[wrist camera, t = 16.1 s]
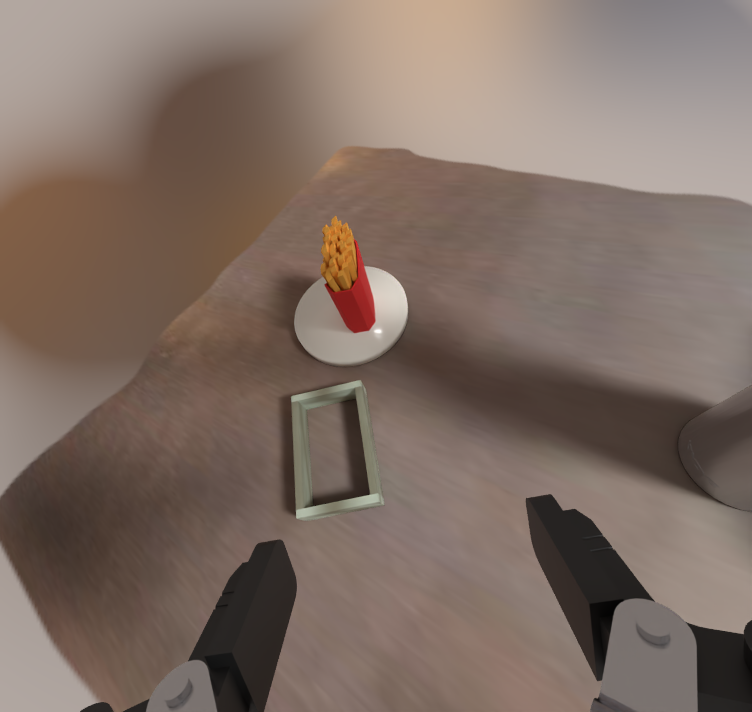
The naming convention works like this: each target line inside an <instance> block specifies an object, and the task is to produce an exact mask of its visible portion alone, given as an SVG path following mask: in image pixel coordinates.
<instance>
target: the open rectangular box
mask: <svg viewBox="0 0 752 712" xmlns="http://www.w3.org/2000/svg"><path fill="white" fill-rule="evenodd" d="M355 398H356V399H357V406H358V413H359V420H360V427H361V434H362V441H363V448H364V455H365V462H366V469H367V476H368V483H369V490H370V495H367V496H362V497H357V498H352V499H347V500H342V501H338V502H333V503H328V504H323V505H318V506H313V496H312V480H311V465H310V450H309V434H308V419H307V410H308V409H312V408H316V407H321V406H325V405H329V404H334V403H338V402H342V401H347V400H351V399H355ZM291 404H292V427H293V451H294V475H295V498H296V519H301V520H305V521H310V520H315V519H319V518H324V517H329V516H334V515H339V514H344V513H349V512H354V511H359V510H364V509H369V508H374V507H379V506H384V499H383V493H382V487H381V480H380V474H379V468H378V462H377V456H376V449H375V443H374V437H373V431H372V424H371V418H370V412H369V406H368V400H367V393H366V389H365V387H364V386H363V384H362V382H361V380H358V381H354V382H350V383H345V384H341V385H337V386H333V387H328V388H324V389H320V390H316V391H311V392H307V393H303V394H299V395H294V396H291Z"/></svg>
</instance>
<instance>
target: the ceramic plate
mask: <svg viewBox="0 0 752 712" xmlns="http://www.w3.org/2000/svg"><path fill="white" fill-rule="evenodd" d="M364 267H365V271H366V274H367V277H368V281H369V284H370V287H371V291H372V294H373V299H374V306H375V319H376V322H375V323H374V325H373V326H372V327H371V329H370V330H369V331H364V332H359V333H353V332H352V331H351V330H350V329H349V328H347V326H346V325H345V323H344V321H343V319H342V317H341V315H340V313H339V311H338V310H337V308H336V306H335V304H334V302H333V300H332V298H331V296H330V295H329V293H328V291H327V289H326V287H325V285H324V284H326V283H327V282H326V280H325V279H324V277H322V278H321V279H319V280H318V281H316V282H315V283H314V284H313V285H312V286H311V287H310V288H309V289H308V290H307V291H306V292H305V294H304V295H303V297H302V298H301V300H300V302H299V304H298V306H297V309H296V312H295V318H294V326H295V332H296V335H297V337H298V339H299V341H300V343H301V344H302V345H303V347H304V348H305V350H306V351H307V352H308V353H309V354H310V355H311V356H312V357H314V358H315V359H316V360H318V361H320V362H322V363H325V364H328V365H331V366H337V367H352V366H358V365H362V364H365V363H368V362H370V361H373V360H375V359H377V358H379V357H380V356H382V355H383V354H385V353H386V352H387V351H389V350H390V349H391V348H392V347H393V346H394V345H395V344H396V342H397V341H398V340H399V339H400V337H401V335H402V334H403V332H404V330H405V328H406V324H407V321H408V304H407V299H406V295H405V292H404V289H403V288H402V286H401V284H400V283H399V282H398V281H397V280H396V279H395V278H394V277H393V276H392V275H390V274H389V273H387V272H385V271H383V270H381V269H378V268H374V267H368V266H364Z"/></svg>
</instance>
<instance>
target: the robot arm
mask: <svg viewBox="0 0 752 712" xmlns="http://www.w3.org/2000/svg"><path fill="white" fill-rule="evenodd" d="M678 450H679V455H680V459H681V461H682V463H683V465H684V467H685V470H686V471H687V472H688V474H689V475H690V477H691V478H692V479H693V480H694V481H695V482H696V483H697V484H698V485H699V486H700V487H701V488H702V489H703V490H704V491H705V492H707V493H708V494H709V495H711V496H712V497H713V498H715V499H717V500H719V501H721V502H723V503H724V504H726V505H729V506H732V507H734V508H737V509H740V510H745V511H750V512H752V385H751V386H749V387H747V388H745V389H744V390H742V391H740V392H739V393H737V394H735V395H733V396H732V397H730V398H728V399H726V400H725V401H723V402H721V403H719V404H718V405H716V406H714V407H712V408H711V409H709V410H707V411H705V412H704V413H702V414H700V415H699V416H697V417H695V418H693V419H692V420H691V421H689V422H688V423H687V424H686V425H685V426H684V428H683V429H682V431H681V433H680V436H679V439H678ZM526 507H527V514H528V521H529V528H530V534H531V540H532V544H533V548H534V551H535V554H536V557H537V559H538V561H539V563H540V565H541V568H542V570H543V572H544V574H545V576H546V578H547V580H548V582H549V584H550V586H551V588H552V590H553V592H554V594H555V596H556V598H557V600H558V602H559V604H560V606H561V608H562V610H563V612H564V614H565V616H566V618H567V620H568V622H569V625H570V627H571V629H572V631H573V633H574V635H575V637H576V639H577V641H578V643H579V645H580V647H581V649H582V651H583V653H584V655H585V657H586V659H587V661H588V663H589V665H590V667H591V669H592V671H593V673H594V675H595V677H596V680H597V681H601V680H602V684H601V690H600V694H599V697H598V699H597V698H594V700H593V702H592V705H591V709H590V712H752V620H751V621H750V622H748V623H747V625H746V626H745V630H744V634H738V633H732V632H726V631H720V630H714V629H708V628H703V627H698V626H695V625H692V624H689V623H687V622H685V621H684V620H683V619H682V618H681V617H680V616H679V615H677V614H676V613H675V612H673V611H672V610H670V609H669V608H667V607H665V606H663V605H662V604H659V603H657V602H655V601H654V600H653V599H652V598H651V596H650V595H649V594H648V593H647V591H646V590H645V589H644V587H643V586H642V585H641V584H640V582H639V581H638V580H637V578H636V577H635V576H634V574H633V573H632V572H631V571H630V569H629V568H628V567H627V565H626V564H625V563H624V561H623V560H622V559H621V558H620V556H619V555H618V554H617V552H616V551H615V550H613V549H612V546H611V545H610V543H609V542H608V541H607V539H606V538H605V537H603V535H602V533H601V532H600V530H599V529H598V528H597V527H596V525H595V524H594V523H593V521H592V520H591V519H589V518H588V517H586V516H585V515H583V514H582V513H580V512H579V511H577V510H576V509H571V510H565V511H563V510H562V509H561V507H560V506H559V504H558V503H557V501H556V500H555V498H554V497H553V496H552V495H551V494H549V495H543V496H537V497H531V498H526ZM296 591H297V583H296V576H295V573H294V570H293V567H292V564H291V562H290V559H289V556H288V553H287V550H286V548H285V545H284V543H283V541H282V540H274V541H268V542H262V543H258V544H257V545H256V547H255V549H254V551H253V553H252V555H251V557H250V559H249V561H248V562H245V563H242V564H241V566H240V567H239V568H238V569H237V570H236V571H235V572H234V573H233V575H232V576H231V577H230V579H229V580H228V582H227V584H226V586H225V588H224V590H223V592H222V596H220V598H219V600H218V602H217V604H216V609H215V610H213V612H212V614H211V616H210V618H209V620H208V622H207V624H206V626H205V628H204V630H203V632H202V634H201V636H200V638H199V640H198V642H197V644H196V646H195V648H194V650H193V652H192V654H191V656H190V658H189V660H188V662H186V663H184V664H182V665H180V666H178V667H177V668H175V669H174V670H173V671H171V672H170V673H169V674H168V675H167V676H166V677H165V678H164V679H163V680H162V681H161V682H160V684H159V685H158V686H157V687H156V689H155V690H154V692H153V694H152V696H151V698H150V699H148V700H146V701H144V702H142V703H140V704H138V705H136V706H134V707H131V708H129V709H127V710H125V711H123V712H264V709H265V705H266V702H267V698H268V695H269V691H270V687H271V684H272V680H273V677H274V673H275V670H276V666H277V662H278V659H279V655H280V652H281V648H282V644H283V641H284V637H285V634H286V630H287V627H288V623H289V619H290V616H291V612H292V609H293V605H294V601H295V598H296ZM80 712H114V711H113V709H112V708H111V706H110V705H109V704H108V703H104V702H101V703H96V704H93V705H91V706H88V707H87V708H85V709H83V710H82V711H80Z"/></svg>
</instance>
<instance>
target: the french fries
mask: <svg viewBox="0 0 752 712" xmlns="http://www.w3.org/2000/svg"><path fill="white" fill-rule="evenodd" d="M332 226H333V227H332ZM323 234H324V237H323V242H324V245H323V246H322V248H321V253H322V254H323V256H324V258H323V262H324V263H323V264H322V265H321V274H322V276H323V277H324V279H325V280H326V282H327V283H326V284H324V285H325V287H326V289H327V291H328V293H329V295H330V296H331V298H332V300H333V302H334V304H335V306H336V308H337V310H338V311H339V313H340V315H341V317H342V319H343V321H344V323H345V325H346V326H347V328H349V329H350V330H351V331H352V332H353V333H359V332H364V331H369V330H370V329H371V327H372V326H373V325H374V323H375V322H376V319H375V306H374V299H373V294H372V291H371V287H370V284H369V281H368V277H367V274H366V271H365V267H364V264H363V261H362V257H361V254H360V251H359V247H358V244H357V241H356V240H354V239H353V235H352V231H351V229H349V228H348V224H347V223H346V224H344V225H343V226H342V225H341V220H340V221H339V222H338V221H337V217H336V216H335V217H334V218H333V219H332V225H331V226H330V227H328V226H327V224H326V225H325V226H324V227H323Z"/></svg>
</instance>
